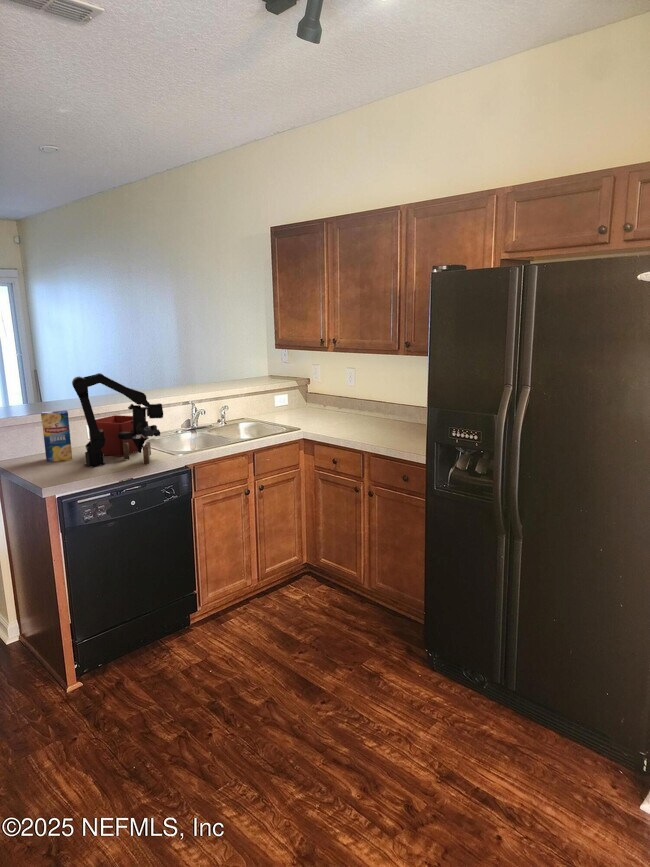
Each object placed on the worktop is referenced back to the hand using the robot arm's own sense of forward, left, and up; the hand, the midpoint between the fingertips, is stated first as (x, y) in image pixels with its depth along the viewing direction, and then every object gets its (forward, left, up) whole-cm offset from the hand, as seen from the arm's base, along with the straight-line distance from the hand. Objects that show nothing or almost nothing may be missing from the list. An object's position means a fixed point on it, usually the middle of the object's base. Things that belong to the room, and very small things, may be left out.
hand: (139, 452), depth 260 cm
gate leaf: (+3, -2, -2) cm, 4 cm away
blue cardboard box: (-21, +32, -4) cm, 39 cm away
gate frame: (-2, -1, -4) cm, 4 cm away
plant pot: (+3, +20, -4) cm, 21 cm away
